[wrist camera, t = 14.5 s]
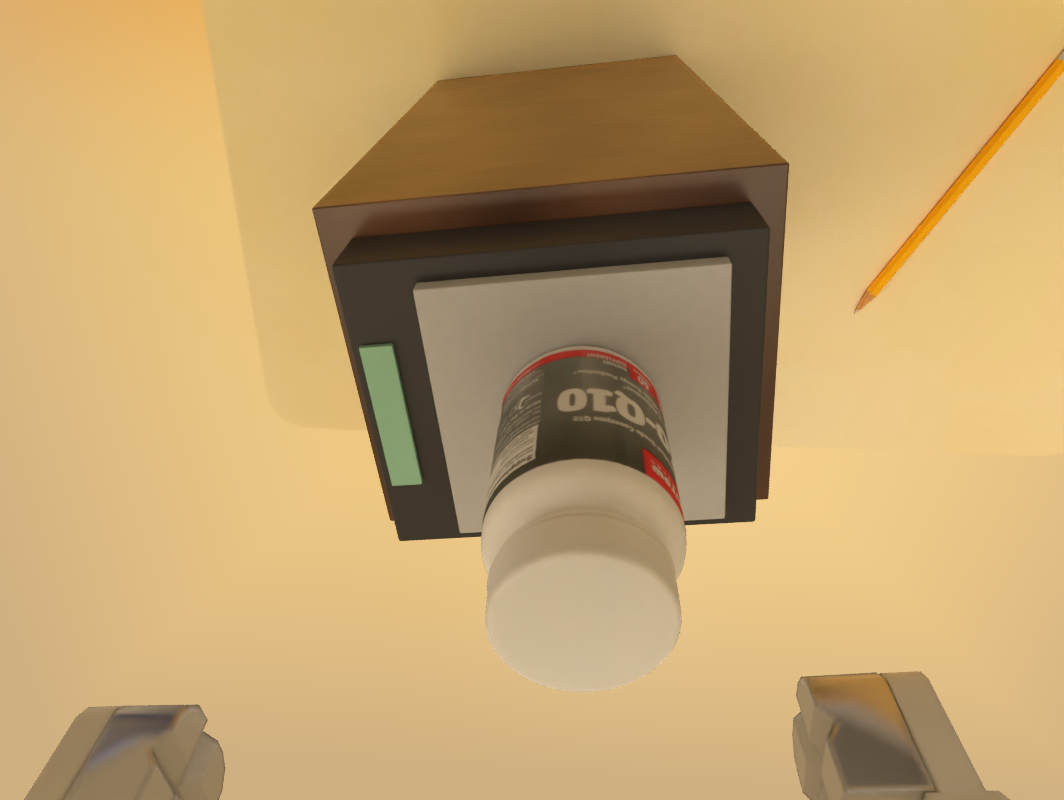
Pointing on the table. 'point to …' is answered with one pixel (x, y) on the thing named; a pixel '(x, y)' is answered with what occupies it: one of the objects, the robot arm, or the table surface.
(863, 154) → the table surface
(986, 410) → the table surface
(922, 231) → the pencil
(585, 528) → the pill bottle
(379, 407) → the scale
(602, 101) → the riser
